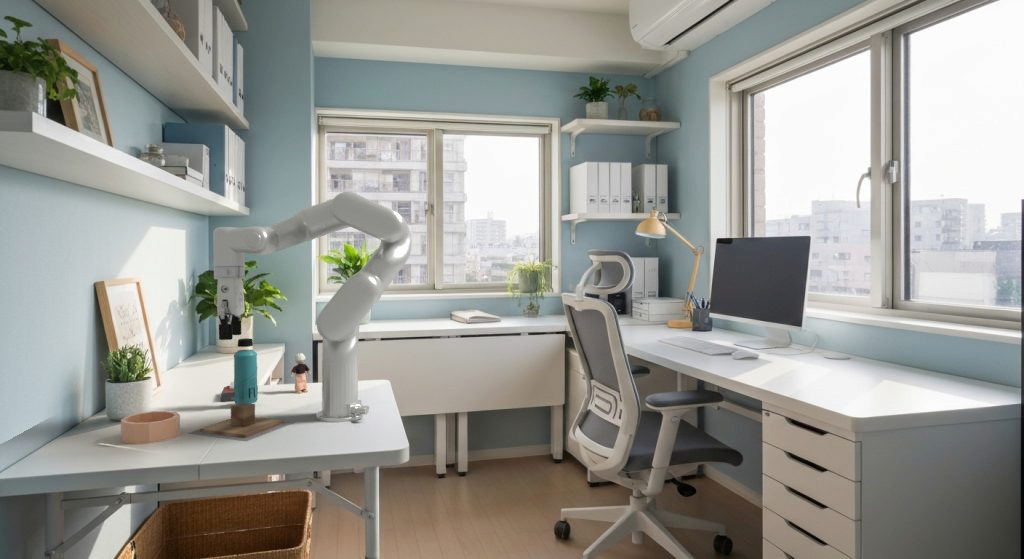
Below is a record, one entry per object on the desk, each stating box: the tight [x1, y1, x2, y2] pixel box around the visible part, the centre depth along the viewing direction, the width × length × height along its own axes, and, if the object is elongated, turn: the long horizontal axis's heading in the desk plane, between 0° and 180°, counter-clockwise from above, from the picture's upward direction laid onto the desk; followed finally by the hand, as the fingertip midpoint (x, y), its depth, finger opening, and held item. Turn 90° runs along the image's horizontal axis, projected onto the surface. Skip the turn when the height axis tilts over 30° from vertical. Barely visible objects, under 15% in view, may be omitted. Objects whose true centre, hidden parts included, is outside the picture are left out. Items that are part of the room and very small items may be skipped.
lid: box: [199, 403, 285, 438], centre depth 162 cm, size 14×14×6 cm
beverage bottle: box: [233, 338, 259, 405], centre depth 185 cm, size 6×7×20 cm
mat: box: [187, 420, 296, 442], centre depth 163 cm, size 18×18×1 cm
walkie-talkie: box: [220, 381, 234, 403], centre depth 201 cm, size 9×4×20 cm
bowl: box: [120, 410, 181, 445], centre depth 154 cm, size 12×12×5 cm
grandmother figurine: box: [289, 352, 312, 394], centre depth 206 cm, size 8×4×13 cm, turn 154°
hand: (230, 337), depth 171 cm, fingers open, 9 cm apart
